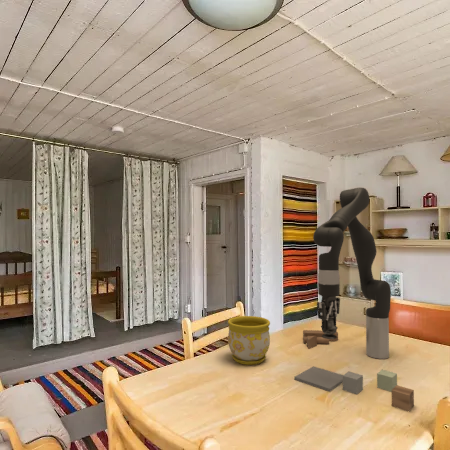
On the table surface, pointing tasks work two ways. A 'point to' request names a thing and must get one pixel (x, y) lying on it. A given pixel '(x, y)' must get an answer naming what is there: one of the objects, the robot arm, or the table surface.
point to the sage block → (386, 380)
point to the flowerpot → (248, 339)
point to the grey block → (353, 382)
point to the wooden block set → (316, 338)
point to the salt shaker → (330, 328)
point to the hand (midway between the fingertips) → (329, 328)
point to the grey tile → (320, 378)
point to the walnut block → (402, 398)
